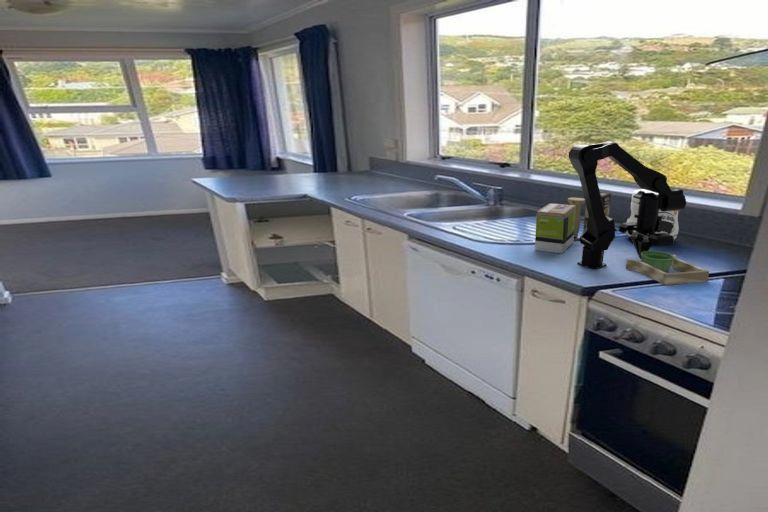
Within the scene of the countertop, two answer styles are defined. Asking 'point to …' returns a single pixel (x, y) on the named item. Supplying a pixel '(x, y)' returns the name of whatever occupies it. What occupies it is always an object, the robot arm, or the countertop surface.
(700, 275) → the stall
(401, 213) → the countertop surface
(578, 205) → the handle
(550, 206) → the tea box
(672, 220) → the milk container
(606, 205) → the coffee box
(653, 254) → the ramekin
